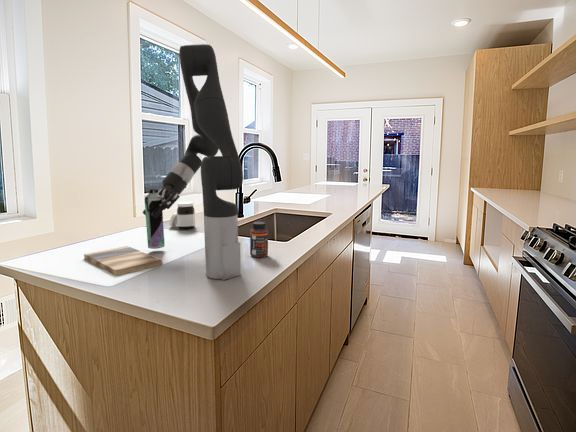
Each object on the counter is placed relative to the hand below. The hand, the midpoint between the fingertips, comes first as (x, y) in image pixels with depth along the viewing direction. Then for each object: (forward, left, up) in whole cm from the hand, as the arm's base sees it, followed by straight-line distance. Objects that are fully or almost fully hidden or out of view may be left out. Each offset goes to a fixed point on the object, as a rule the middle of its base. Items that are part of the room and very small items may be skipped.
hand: (149, 215), depth 125 cm
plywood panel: (-3, +11, -13) cm, 18 cm away
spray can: (0, -2, -11) cm, 12 cm away
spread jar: (+28, -30, -13) cm, 43 cm away
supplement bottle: (-30, -23, -13) cm, 40 cm away
